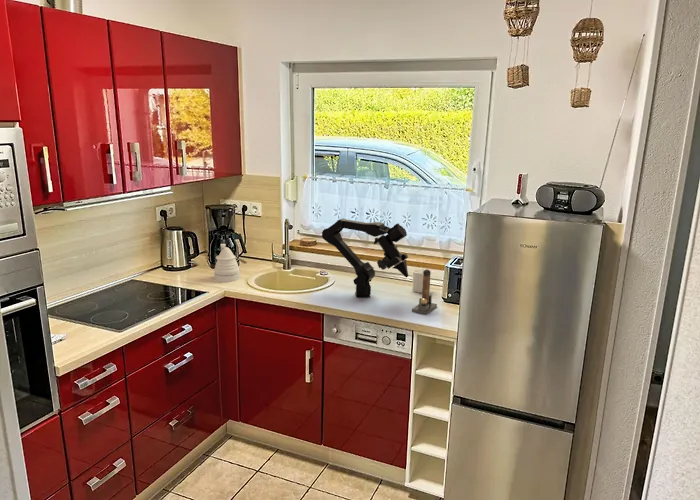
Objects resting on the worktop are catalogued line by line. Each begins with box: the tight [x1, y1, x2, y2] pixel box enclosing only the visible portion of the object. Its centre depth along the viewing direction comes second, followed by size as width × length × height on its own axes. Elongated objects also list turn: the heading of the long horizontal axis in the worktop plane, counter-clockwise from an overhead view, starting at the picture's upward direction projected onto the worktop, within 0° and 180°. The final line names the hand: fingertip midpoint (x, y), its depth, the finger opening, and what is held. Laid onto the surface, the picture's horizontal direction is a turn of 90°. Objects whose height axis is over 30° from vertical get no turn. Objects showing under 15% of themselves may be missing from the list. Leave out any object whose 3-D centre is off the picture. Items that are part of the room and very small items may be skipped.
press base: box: [411, 294, 438, 315], centre depth 231 cm, size 7×12×6 cm, turn 150°
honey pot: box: [213, 243, 241, 283], centre depth 269 cm, size 13×13×18 cm
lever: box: [421, 268, 432, 303], centre depth 231 cm, size 3×4×15 cm
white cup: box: [412, 268, 426, 294], centre depth 256 cm, size 8×8×10 cm
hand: (407, 276), depth 235 cm, fingers closed
